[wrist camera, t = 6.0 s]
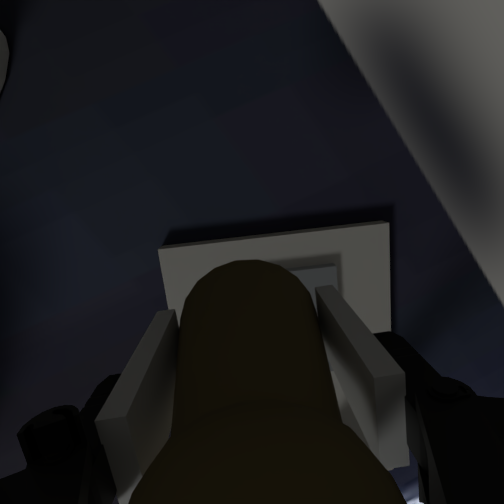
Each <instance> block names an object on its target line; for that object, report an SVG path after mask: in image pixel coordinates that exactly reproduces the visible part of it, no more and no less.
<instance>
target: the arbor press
mask: <svg viewBox="0 0 504 504" xmlns="http://www.w3.org/2000/svg"><path fill="white" fill-rule="evenodd" d="M158 253H159V259H160V264H161V270H162V276H163V281H164V287H165V292H166V298H167V303H168V309H169V310H170V309H175V311H176V315H177V320H178V325H179V327H180V317H181V314H182V310H183V306H184V302H185V299H186V297H187V296H188V294H189V293H190V291H191V290H192V288H193V287H194V285H195V284H196V282H197V281H198V280H199V279H201V278H202V277H203V276H205V275H206V274H207V273H209V272H210V271H211V270H212V269H214V268H216V267H218V266H221V265H224V264H227V263H229V262H232V261H235V260H255V259H259V260H262V261H266V262H270V263H273V264H277V265H280V266H282V267H283V268H285V269H286V270H288V271H289V272H291V273H292V274H294V275H295V276H297V277H298V278H299V280H300V281H301V282H302V283H303V285H304V286H305V287H306V288H307V290H308V291H309V292H310V294H311V297H312V300H313V303H314V306H315V309H316V312H317V304H316V295H315V287H320V286H326V285H333V286H334V287H335V289H336V290H337V291H338V292H339V294H340V295H341V296H342V297H343V298H344V300H345V301H346V302H347V303H348V304H349V306H350V307H351V308H352V309H353V310H354V312H355V313H356V314H357V315H358V317H359V318H360V319H361V320H362V321H363V323H364V324H365V325H366V326H367V327H368V329H369V330H370V331H371V332H372V333H380V332H386V331H391V305H390V243H389V223H388V222H385V221H382V220H381V221H373V222H364V223H355V224H347V225H338V226H329V227H321V228H312V229H303V230H295V231H286V232H277V233H269V234H260V235H251V236H243V237H234V238H225V239H217V240H208V241H199V242H191V243H182V244H173V245H165V246H161V247H160V248H159V249H158ZM317 316H318V313H317ZM328 362H329V360H328ZM329 367H330V371H331V375H332V380H333V384H334V388H335V392H336V397H337V401H338V405H339V409H340V414H341V418H342V422H343V423H344V424H345V425H347V426H349V427H350V428H351V429H352V430H353V431H354V432H355V433H356V434H357V436H358V437H359V438H360V439H361V440H362V441H363V442H364V443H365V445H366V446H367V447H368V448H369V449H370V447H369V445H368V442H367V440H366V438H365V436H364V434H363V432H362V430H361V428H360V426H359V423H358V421H357V419H356V417H355V415H354V413H353V411H352V409H351V407H350V405H349V402H348V400H347V398H346V396H345V394H344V392H343V390H342V388H341V386H340V384H339V381H338V379H337V377H336V375H335V373H334V371H333V369H332V367H331V365H330V362H329ZM370 450H371V449H370ZM371 452H372V451H371ZM387 470H393V468H390V469H387Z"/></svg>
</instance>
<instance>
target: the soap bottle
mask: <svg viewBox="0 0 504 504" xmlns="http://www.w3.org/2000/svg"><path fill="white" fill-rule="evenodd" d="M8 59H9V48H8V44H7V40H6V37H5V35H4V34H3V33H2V31H1V30H0V93H1V90H2V88H3V85H4V82H5V79H6V73H7V66H8Z"/></svg>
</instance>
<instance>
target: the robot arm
mask: <svg viewBox="0 0 504 504" xmlns="http://www.w3.org/2000/svg"><path fill="white" fill-rule="evenodd" d="M315 295H316V304H317V313H318V320H319V324H320V328H321V333H322V337H323V341H324V345H325V350H326V354H327V358H328V360H329V362H330V365H331V367H332V369H333V371H334V373H335V375H336V377H337V379H338V381H339V384H340V386H341V388H342V390H343V392H344V394H345V396H346V398H347V400H348V402H349V405H350V407H351V409H352V411H353V413H354V415H355V417H356V419H357V421H358V423H359V426H360V428H361V430H362V432H363V434H364V436H365V438H366V440H367V442H368V445H369V447H370V449H371V451H372V453H373V454H374V455H375V456H376V457H377V459H378V460H379V461H380V462H381V463H382V465H383V466H384V467H385V468H386V469H390V468H397V467H403V466H409V448H410V450H411V452H412V453H413V455H414V457H415V458H416V460H417V461H418V481H419V502H422V503H424V504H504V398H494V397H484V396H477V395H476V393H475V392H474V391H473V390H472V389H471V388H470V387H469V386H468V385H466V384H464V383H463V382H461V381H458V380H455V379H452V378H449V377H441V376H440V375H439V374H438V373H437V371H436V370H435V369H434V368H433V367H432V366H431V365H430V364H429V363H428V362H427V361H426V360H425V359H424V358H423V357H422V356H421V355H420V354H418V352H417V351H416V350H415V349H414V348H413V347H411V345H410V344H409V343H408V342H407V341H406V340H405V339H404V338H403V337H401V336H399V335H397V334H395V333H393V332H391V331H386V332H380V333H372V332H371V331H370V330H369V329H368V327H367V326H366V325H365V324H364V323H363V321H362V320H361V319H360V318H359V317H358V315H357V314H356V313H355V312H354V310H353V309H352V308H351V307H350V306H349V304H348V303H347V302H346V301H345V300H344V298H343V297H342V296H341V295H340V294H339V292H338V291H337V290H336V289H335V287H334V286H333V285H326V286H320V287H315ZM178 340H179V325H178V320H177V315H176V311H175V309H170V310H164V311H157V313H156V315H155V317H154V318H153V320H152V322H151V324H150V325H149V327H148V329H147V331H146V332H145V334H144V336H143V338H142V339H141V341H140V343H139V345H138V346H137V348H136V350H135V351H134V353H133V355H132V357H131V358H130V360H129V362H128V364H127V365H126V367H125V369H124V371H123V372H122V374H115V375H109V376H108V377H107V378H106V379H105V380H104V381H102V382H101V383H100V384H99V385H98V386H97V387H96V389H95V390H94V392H93V393H92V395H91V398H89V399H88V401H87V402H86V404H85V407H84V408H83V409H82V410H81V412H80V413H79V410H78V408H76V407H75V406H73V405H63V406H58V407H54V408H52V409H49V410H47V411H44V412H42V413H40V414H39V415H37V416H35V417H34V418H32V419H31V420H30V421H28V422H27V423H26V424H25V425H24V426H22V428H21V429H20V431H19V432H18V433H17V437H18V440H19V443H20V445H21V448H22V451H23V453H24V456H25V459H26V462H27V467H26V469H25V470H22V471H20V472H17V473H15V474H12V475H10V476H7V477H4V478H2V479H0V504H112V503H113V500H114V497H115V495H117V498H118V501H119V504H128V503H129V500H130V497H131V494H132V492H133V490H134V489H135V487H136V486H137V484H138V483H139V481H140V480H141V478H142V477H143V475H144V473H145V472H146V470H147V469H148V467H149V466H150V464H151V463H152V462H153V460H154V459H155V457H156V456H157V455H158V453H159V452H160V451H161V449H162V448H163V446H164V445H165V444H166V442H167V441H168V437H169V433H170V429H171V425H172V415H173V402H174V390H175V377H176V365H177V352H178Z"/></svg>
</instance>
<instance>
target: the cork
mask: <svg viewBox="0 0 504 504" xmlns="http://www.w3.org/2000/svg"><path fill="white" fill-rule="evenodd" d="M128 504H407V503H406V501H405V499H404V497H403V495H402V494H401V492H400V490H399V488H398V486H397V484H396V482H395V480H394V478H393V477H392V475H391V474H390V473H389V472H388V471H387V469H386V468H385V467H384V466H383V465H382V463H381V462H380V461H379V460H378V459H377V457H376V456H375V455H374V454H373V453H372V452H371V450H370V449H369V448H368V447H367V446H366V445H365V443H364V442H363V441H362V440H361V439H360V438H359V437H358V436H357V434H356V433H355V432H354V431H353V430H352V429H351V428H350V427H349V426H347V425H345V424H344V423H343V422H342V418H341V414H340V409H339V405H338V401H337V397H336V392H335V388H334V384H333V380H332V375H331V371H330V367H329V362H328V358H327V354H326V350H325V345H324V341H323V337H322V333H321V328H320V324H319V320H318V316H317V312H316V309H315V306H314V303H313V300H312V297H311V294H310V292H309V291H308V290H307V288H306V287H305V286H304V285H303V283H302V282H301V281H300V280H299V278H298V277H297V276H295V275H294V274H292V273H291V272H289V271H288V270H286V269H285V268H283V267H282V266H280V265H277V264H273V263H270V262H266V261H262V260H259V259H255V260H235V261H232V262H229V263H227V264H224V265H221V266H218V267H216V268H214V269H212V270H211V271H210V272H209V273H207V274H206V275H205V276H203V277H202V278H201V279H199V280H198V281H197V282H196V284H195V285H194V287H193V288H192V290H191V291H190V293H189V294H188V296H187V297H186V299H185V302H184V306H183V310H182V314H181V317H180V327H179V340H178V352H177V365H176V377H175V390H174V402H173V415H172V428H171V437H170V438H169V439H168V441H167V442H166V444H165V445H164V446H163V448H162V449H161V451H160V452H159V453H158V455H157V456H156V457H155V459H154V460H153V462H152V463H151V464H150V466H149V467H148V469H147V470H146V472H145V473H144V475H143V477H142V478H141V480H140V481H139V483H138V484H137V486H136V487H135V489H134V490H133V492H132V494H131V497H130V500H129V503H128Z"/></svg>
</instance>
